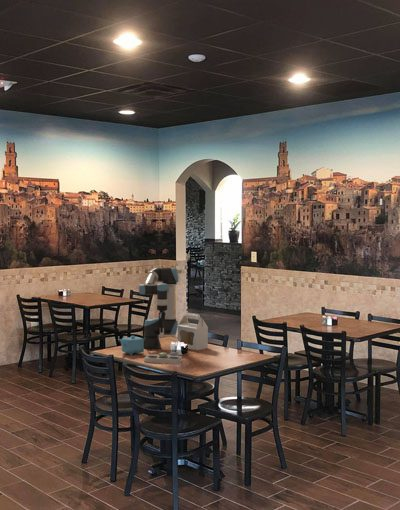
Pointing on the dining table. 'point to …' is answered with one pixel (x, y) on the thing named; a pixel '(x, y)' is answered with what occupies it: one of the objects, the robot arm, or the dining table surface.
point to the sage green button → (162, 354)
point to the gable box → (198, 329)
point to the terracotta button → (152, 352)
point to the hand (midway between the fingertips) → (161, 336)
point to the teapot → (132, 345)
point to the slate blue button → (173, 353)
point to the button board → (163, 359)
